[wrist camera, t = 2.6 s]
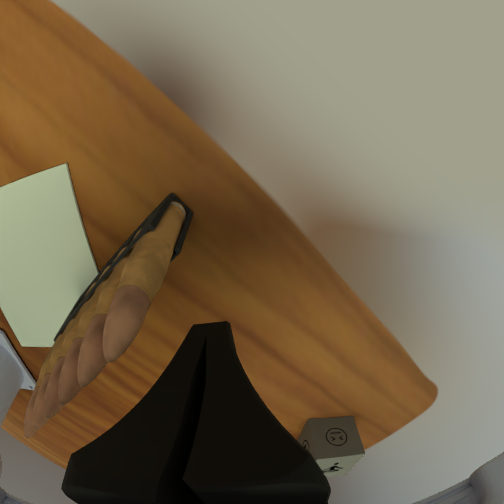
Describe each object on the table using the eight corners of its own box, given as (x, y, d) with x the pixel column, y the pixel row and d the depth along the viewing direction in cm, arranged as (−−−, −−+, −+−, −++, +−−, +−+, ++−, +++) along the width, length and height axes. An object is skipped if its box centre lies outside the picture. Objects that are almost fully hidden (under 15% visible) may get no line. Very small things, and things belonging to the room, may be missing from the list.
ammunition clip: (172, 191, 17) (96, 320, 7) (194, 212, 18) (156, 364, 7) (79, 297, 20) (6, 430, 9) (98, 313, 20) (38, 451, 10)
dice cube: (296, 441, 30) (302, 479, 25) (308, 418, 28) (316, 459, 23) (337, 439, 30) (346, 474, 26) (352, 415, 28) (365, 453, 24)
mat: (22, 344, 22) (21, 346, 22) (-38, 204, 16) (-39, 205, 16) (128, 343, 22) (127, 345, 22) (67, 162, 16) (66, 163, 16)
